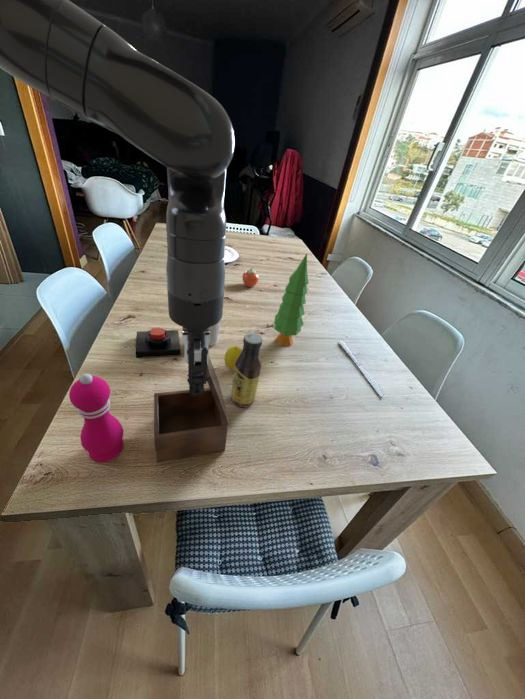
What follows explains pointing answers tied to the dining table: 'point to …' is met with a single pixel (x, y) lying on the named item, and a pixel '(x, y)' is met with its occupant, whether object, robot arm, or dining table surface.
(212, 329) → the energy drink can
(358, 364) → the butter knife
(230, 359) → the lemon
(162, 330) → the button
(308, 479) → the dining table surface
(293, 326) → the decorative tree
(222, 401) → the lid
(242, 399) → the sauce bottle
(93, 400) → the pepper mill
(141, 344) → the button housing
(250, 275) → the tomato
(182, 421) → the box
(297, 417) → the dining table surface
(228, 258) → the plate
